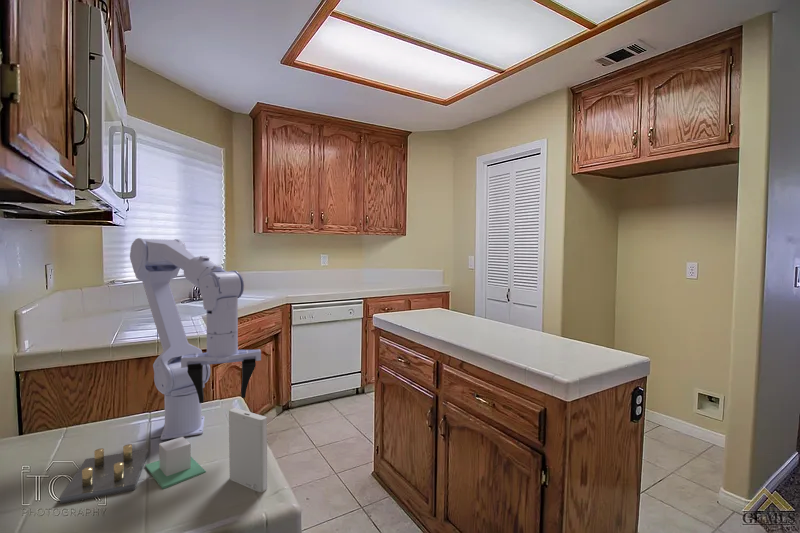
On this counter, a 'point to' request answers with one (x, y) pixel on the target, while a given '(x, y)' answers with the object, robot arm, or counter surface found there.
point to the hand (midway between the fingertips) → (222, 398)
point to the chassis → (106, 475)
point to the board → (175, 476)
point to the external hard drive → (248, 449)
